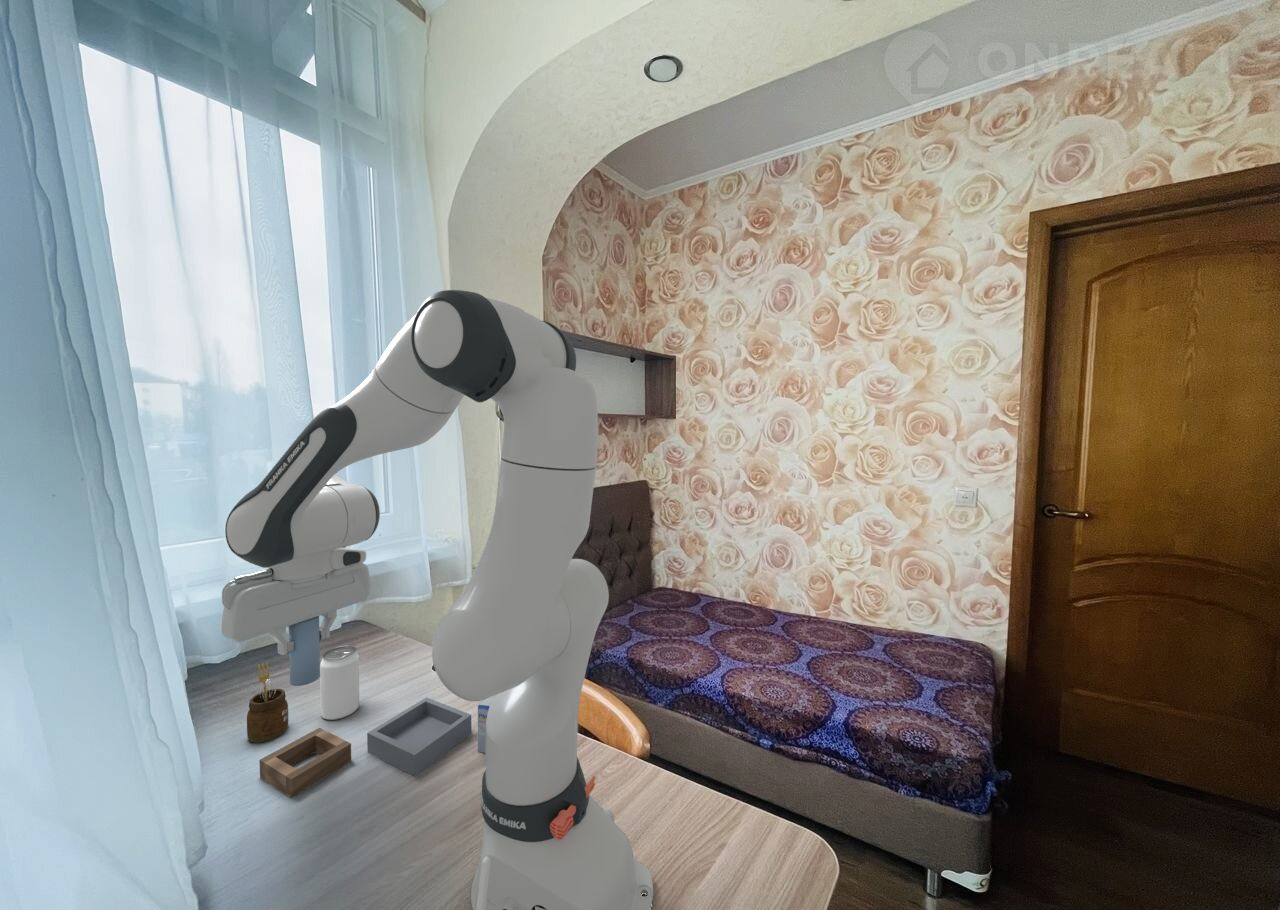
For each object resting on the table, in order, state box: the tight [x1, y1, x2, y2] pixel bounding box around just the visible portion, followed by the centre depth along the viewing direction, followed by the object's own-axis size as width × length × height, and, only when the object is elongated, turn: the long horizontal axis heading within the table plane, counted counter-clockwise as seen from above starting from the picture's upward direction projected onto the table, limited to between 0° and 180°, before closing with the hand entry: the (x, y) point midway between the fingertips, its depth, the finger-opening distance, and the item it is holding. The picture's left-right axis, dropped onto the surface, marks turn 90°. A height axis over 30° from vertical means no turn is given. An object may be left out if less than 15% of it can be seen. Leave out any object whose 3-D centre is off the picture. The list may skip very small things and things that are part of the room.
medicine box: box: [477, 696, 495, 754], centre depth 83 cm, size 8×4×9 cm, turn 168°
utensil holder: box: [246, 661, 289, 744], centre depth 84 cm, size 6×6×12 cm
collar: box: [259, 727, 352, 799], centre depth 75 cm, size 9×9×3 cm
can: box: [319, 645, 360, 721], centre depth 91 cm, size 6×6×12 cm
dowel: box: [288, 616, 321, 687], centre depth 75 cm, size 4×4×10 cm
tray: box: [366, 696, 472, 777], centre depth 82 cm, size 12×12×4 cm
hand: (304, 645), depth 75 cm, fingers closed on dowel, 4 cm apart
